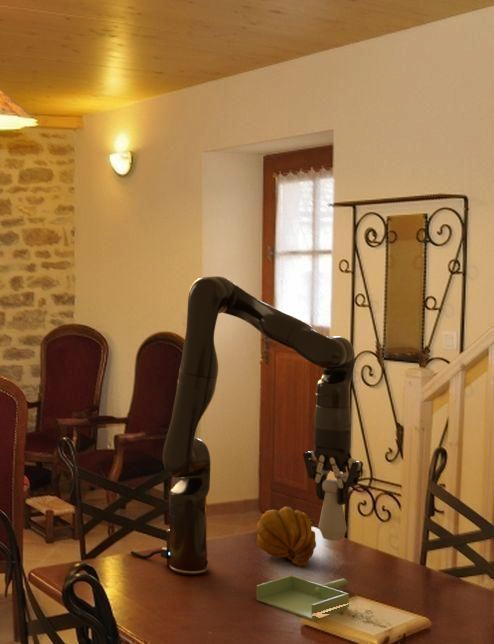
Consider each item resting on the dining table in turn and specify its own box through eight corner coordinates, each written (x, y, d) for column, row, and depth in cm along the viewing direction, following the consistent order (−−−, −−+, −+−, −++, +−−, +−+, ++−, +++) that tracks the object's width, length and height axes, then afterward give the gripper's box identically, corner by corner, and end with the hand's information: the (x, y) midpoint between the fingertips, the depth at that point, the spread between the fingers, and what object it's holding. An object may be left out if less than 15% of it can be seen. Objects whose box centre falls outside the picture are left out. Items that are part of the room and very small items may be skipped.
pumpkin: (255, 572, 229) (249, 529, 248) (321, 584, 226) (309, 538, 245) (264, 526, 225) (256, 485, 244) (331, 537, 222) (318, 495, 240)
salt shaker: (349, 542, 197) (349, 484, 197) (322, 541, 198) (322, 483, 198) (342, 534, 203) (342, 477, 203) (316, 533, 204) (316, 477, 204)
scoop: (313, 620, 192) (313, 605, 192) (256, 600, 205) (256, 585, 205) (375, 599, 204) (375, 584, 204) (318, 581, 217) (317, 567, 217)
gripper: (294, 422, 204) (294, 497, 204) (351, 432, 192) (351, 511, 192) (314, 419, 208) (314, 492, 208) (372, 429, 196) (371, 506, 196)
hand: (332, 501), depth 200 cm, fingers closed on salt shaker, 4 cm apart
